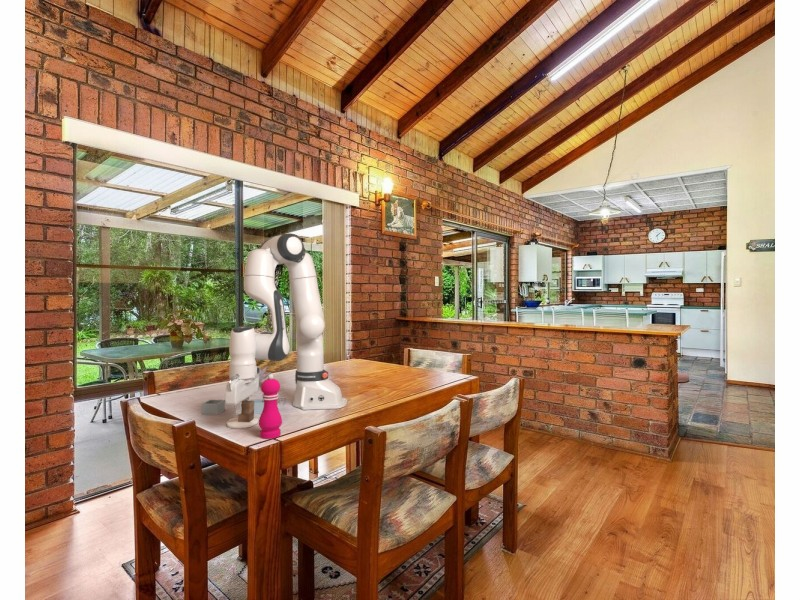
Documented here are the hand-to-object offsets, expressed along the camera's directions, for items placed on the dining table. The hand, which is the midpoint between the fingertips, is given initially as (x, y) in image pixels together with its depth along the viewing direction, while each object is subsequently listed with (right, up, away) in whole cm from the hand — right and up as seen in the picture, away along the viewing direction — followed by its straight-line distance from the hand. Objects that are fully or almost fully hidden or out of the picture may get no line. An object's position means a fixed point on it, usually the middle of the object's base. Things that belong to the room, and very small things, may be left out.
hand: (242, 411), depth 144 cm
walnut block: (+1, -3, 0) cm, 3 cm away
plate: (0, -5, 0) cm, 5 cm away
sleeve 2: (0, -4, +15) cm, 16 cm away
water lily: (-15, -4, +56) cm, 59 cm away
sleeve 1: (-17, -4, +14) cm, 22 cm away
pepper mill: (+14, -5, -12) cm, 19 cm away
